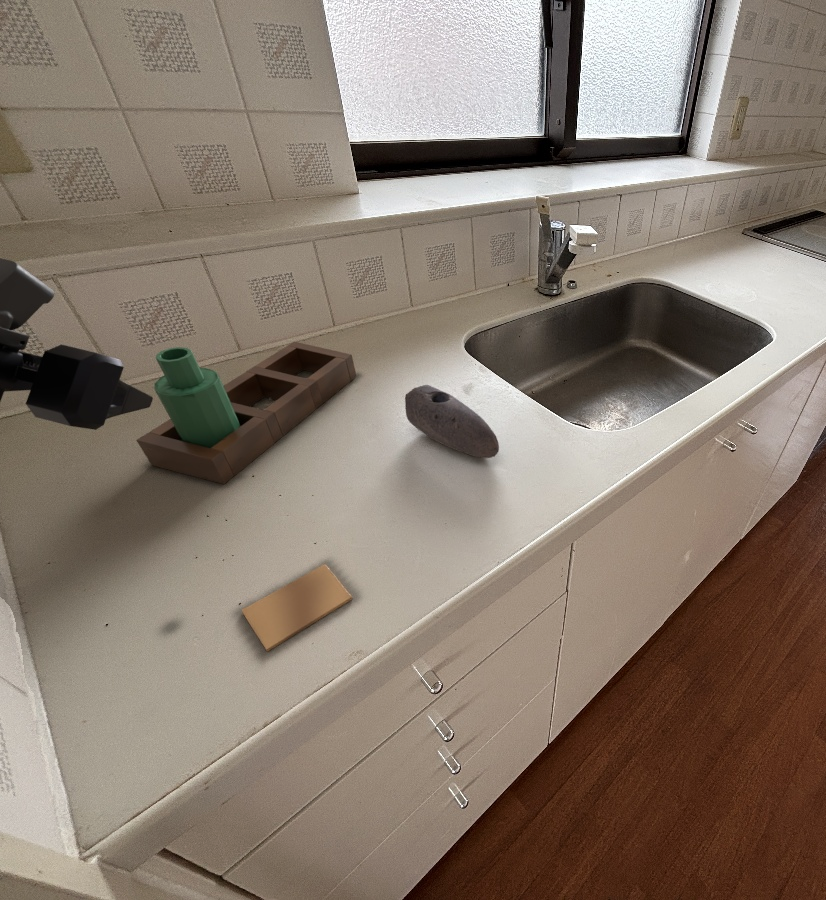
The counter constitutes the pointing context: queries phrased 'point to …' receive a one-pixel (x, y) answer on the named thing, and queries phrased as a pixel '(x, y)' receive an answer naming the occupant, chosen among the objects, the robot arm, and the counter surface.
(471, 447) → the perforated stone tool
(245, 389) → the brown compartment tray
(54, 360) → the robot arm
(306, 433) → the counter surface
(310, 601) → the cork trivet
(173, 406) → the bottle
